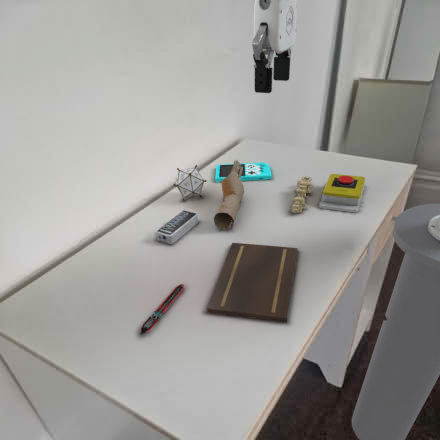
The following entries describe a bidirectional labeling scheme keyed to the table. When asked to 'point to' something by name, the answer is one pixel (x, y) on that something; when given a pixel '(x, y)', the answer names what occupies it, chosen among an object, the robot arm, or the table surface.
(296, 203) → the decorative script
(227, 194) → the mannequin hand
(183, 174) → the game die
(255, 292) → the board
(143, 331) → the pen
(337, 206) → the emergency button
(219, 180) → the handheld game console
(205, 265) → the table surface
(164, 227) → the multiport hub
